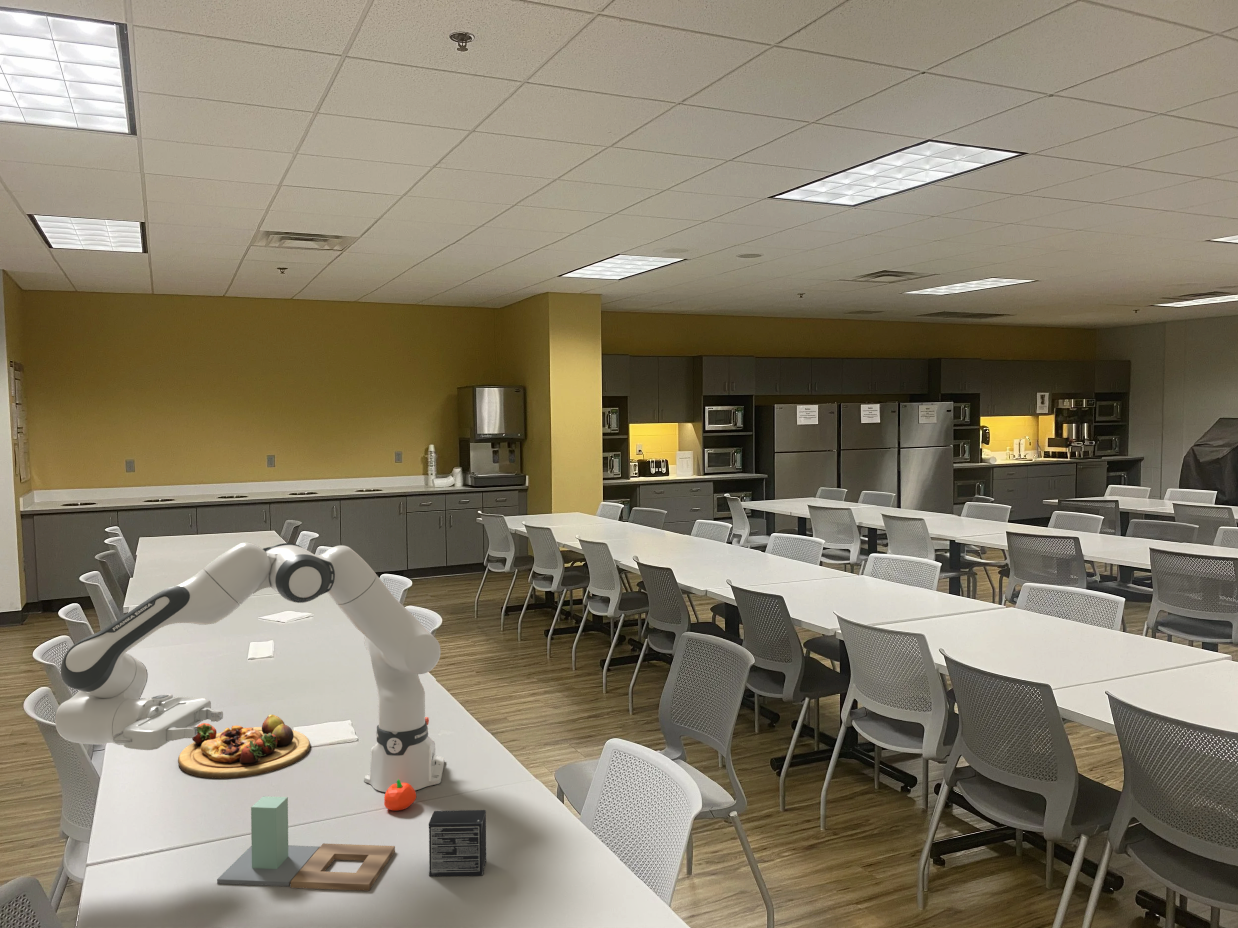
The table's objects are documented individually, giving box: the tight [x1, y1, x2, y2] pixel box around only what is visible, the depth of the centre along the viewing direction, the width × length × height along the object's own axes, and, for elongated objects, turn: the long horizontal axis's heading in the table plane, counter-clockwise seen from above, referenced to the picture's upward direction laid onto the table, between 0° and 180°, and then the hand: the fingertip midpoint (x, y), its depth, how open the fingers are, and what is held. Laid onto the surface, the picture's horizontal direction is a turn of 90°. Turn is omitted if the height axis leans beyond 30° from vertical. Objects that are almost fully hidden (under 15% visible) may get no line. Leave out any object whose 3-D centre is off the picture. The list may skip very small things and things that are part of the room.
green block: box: [250, 795, 289, 869], centre depth 171 cm, size 5×5×12 cm
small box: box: [428, 809, 487, 877], centre depth 170 cm, size 11×6×10 cm, turn 92°
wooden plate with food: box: [177, 714, 311, 779], centre depth 229 cm, size 32×32×8 cm
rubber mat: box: [216, 844, 321, 887], centre depth 171 cm, size 14×14×1 cm
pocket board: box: [290, 842, 396, 892], centre depth 170 cm, size 15×15×1 cm
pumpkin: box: [383, 779, 417, 812], centre depth 197 cm, size 7×8×6 cm
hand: (208, 723), depth 170 cm, fingers open, 8 cm apart
